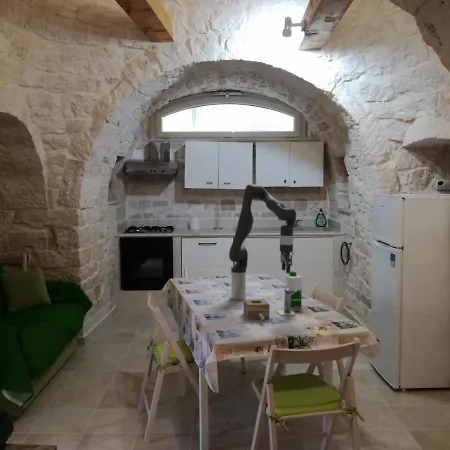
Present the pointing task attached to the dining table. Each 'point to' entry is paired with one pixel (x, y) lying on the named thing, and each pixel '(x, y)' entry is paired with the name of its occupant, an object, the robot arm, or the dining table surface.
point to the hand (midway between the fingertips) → (285, 271)
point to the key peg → (287, 300)
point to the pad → (281, 312)
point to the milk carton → (294, 288)
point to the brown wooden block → (256, 309)
